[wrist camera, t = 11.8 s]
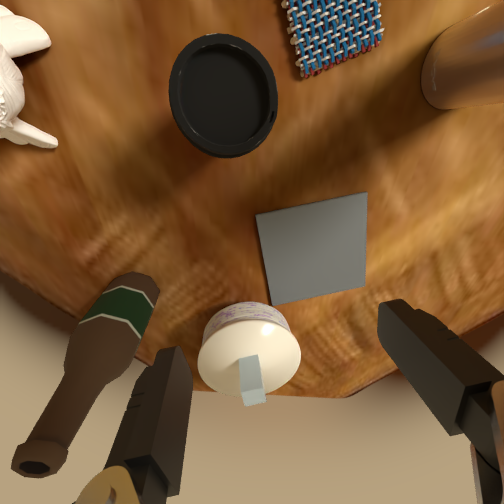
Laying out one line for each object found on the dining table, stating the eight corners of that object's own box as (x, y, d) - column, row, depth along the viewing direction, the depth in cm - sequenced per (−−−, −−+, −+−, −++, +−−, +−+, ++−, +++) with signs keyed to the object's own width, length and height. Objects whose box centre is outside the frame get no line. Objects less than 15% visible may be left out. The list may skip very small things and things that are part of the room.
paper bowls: (300, 306, 45) (314, 338, 38) (262, 361, 50) (269, 399, 43) (224, 278, 41) (224, 308, 34) (192, 342, 46) (186, 380, 39)
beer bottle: (106, 270, 38) (-50, 445, 16) (158, 269, 39) (74, 434, 17) (116, 310, 41) (-3, 500, 20) (163, 308, 42) (99, 489, 20)
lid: (293, 308, 35) (306, 341, 29) (303, 380, 42) (316, 418, 36) (184, 332, 35) (176, 370, 29) (213, 401, 42) (211, 442, 36)
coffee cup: (246, 160, 33) (260, 175, 20) (184, 138, 31) (153, 138, 18) (267, 91, 30) (301, 53, 17) (199, 62, 28) (176, -7, 15)
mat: (365, 191, 37) (367, 192, 36) (363, 284, 44) (365, 286, 44) (255, 214, 37) (255, 215, 36) (271, 303, 44) (272, 306, 43)
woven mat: (298, 83, 30) (302, 80, 29) (270, -28, 26) (273, -41, 24) (378, 48, 30) (388, 42, 28) (364, -73, 25) (375, -90, 23)
